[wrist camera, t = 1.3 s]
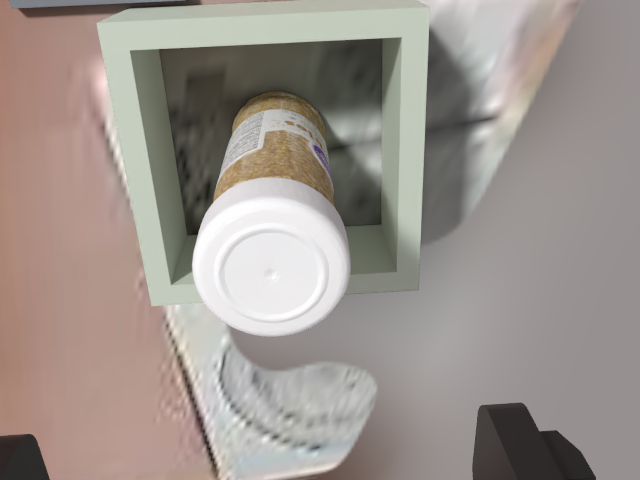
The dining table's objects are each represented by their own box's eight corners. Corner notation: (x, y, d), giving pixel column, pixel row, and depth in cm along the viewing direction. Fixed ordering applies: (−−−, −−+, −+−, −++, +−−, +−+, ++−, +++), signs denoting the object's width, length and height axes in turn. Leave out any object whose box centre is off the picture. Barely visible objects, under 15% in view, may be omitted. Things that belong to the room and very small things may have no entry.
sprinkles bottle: (344, 139, 29) (386, 281, 17) (275, 198, 30) (267, 368, 18) (280, 66, 27) (276, 167, 15) (209, 131, 29) (154, 272, 17)
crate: (405, -5, 26) (430, 7, 22) (400, 240, 32) (418, 289, 27) (128, 8, 26) (96, 22, 22) (170, 253, 31) (151, 306, 27)
